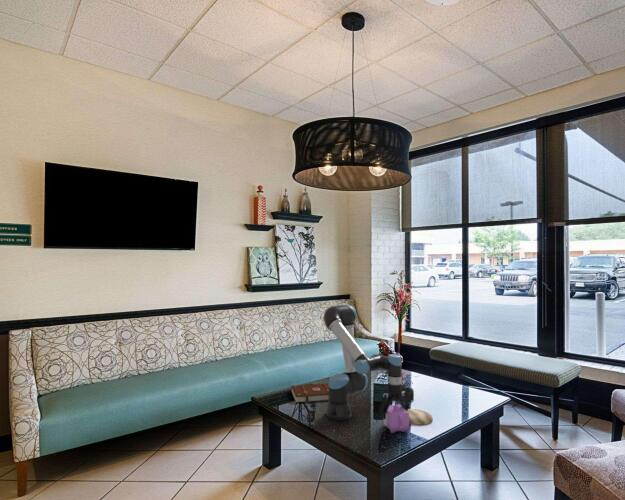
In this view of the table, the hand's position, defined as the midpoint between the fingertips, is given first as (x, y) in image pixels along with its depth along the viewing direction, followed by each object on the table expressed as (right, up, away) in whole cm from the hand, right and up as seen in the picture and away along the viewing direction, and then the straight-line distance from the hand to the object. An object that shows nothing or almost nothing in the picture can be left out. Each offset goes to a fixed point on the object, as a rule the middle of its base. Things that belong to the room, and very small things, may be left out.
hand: (394, 423), depth 212 cm
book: (-43, -4, +50) cm, 66 cm away
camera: (+15, -3, +44) cm, 46 cm away
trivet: (+15, -3, +13) cm, 20 cm away
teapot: (0, -3, 0) cm, 3 cm away
